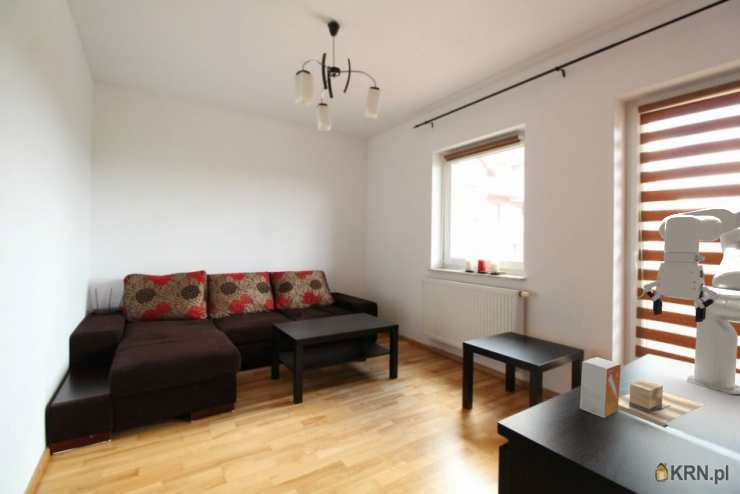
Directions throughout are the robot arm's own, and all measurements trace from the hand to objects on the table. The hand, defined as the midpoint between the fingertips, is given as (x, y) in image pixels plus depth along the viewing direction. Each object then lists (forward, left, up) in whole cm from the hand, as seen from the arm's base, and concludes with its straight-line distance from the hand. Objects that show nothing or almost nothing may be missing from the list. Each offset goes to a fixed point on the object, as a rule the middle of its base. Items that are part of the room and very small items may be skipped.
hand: (677, 317), depth 103 cm
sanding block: (+16, 0, -23) cm, 28 cm away
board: (+10, 0, -24) cm, 26 cm away
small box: (+27, -6, -24) cm, 37 cm away
